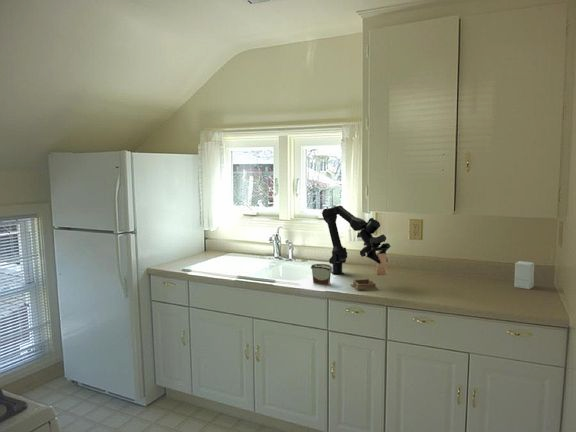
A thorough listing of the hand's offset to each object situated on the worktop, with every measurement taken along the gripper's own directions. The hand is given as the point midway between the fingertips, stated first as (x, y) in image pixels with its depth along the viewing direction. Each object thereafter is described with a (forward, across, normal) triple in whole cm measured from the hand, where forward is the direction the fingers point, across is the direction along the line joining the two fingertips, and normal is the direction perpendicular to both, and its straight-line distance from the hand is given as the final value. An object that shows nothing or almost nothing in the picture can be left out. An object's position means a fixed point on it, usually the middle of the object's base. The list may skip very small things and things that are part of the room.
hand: (383, 262), depth 229 cm
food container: (-8, -21, +26) cm, 34 cm away
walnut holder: (+6, -10, +12) cm, 17 cm away
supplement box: (+42, +55, -24) cm, 73 cm away
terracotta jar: (+4, 0, +6) cm, 7 cm away
